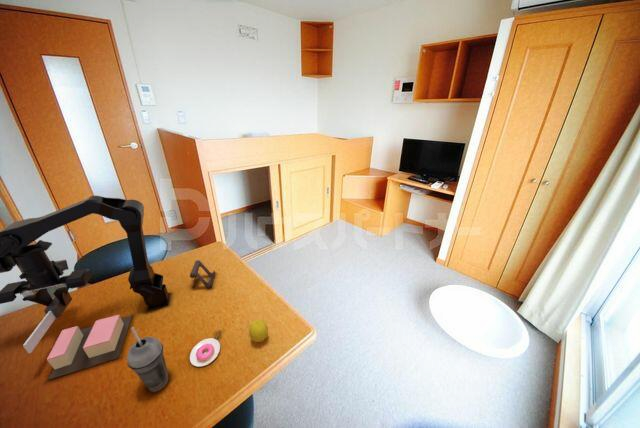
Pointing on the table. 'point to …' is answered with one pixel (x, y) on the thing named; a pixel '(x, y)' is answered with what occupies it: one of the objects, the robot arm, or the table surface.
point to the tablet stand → (195, 274)
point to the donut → (204, 352)
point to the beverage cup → (148, 362)
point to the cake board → (84, 361)
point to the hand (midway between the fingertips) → (60, 305)
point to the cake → (103, 336)
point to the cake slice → (65, 347)
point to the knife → (46, 322)
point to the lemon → (258, 330)
